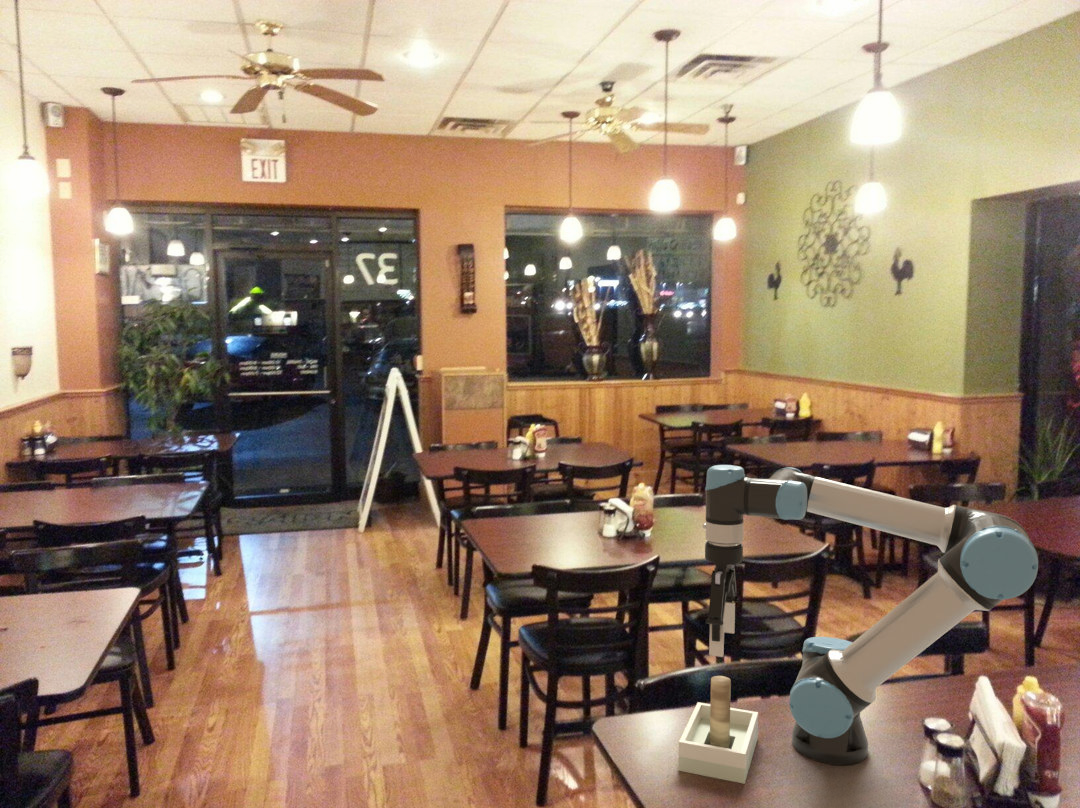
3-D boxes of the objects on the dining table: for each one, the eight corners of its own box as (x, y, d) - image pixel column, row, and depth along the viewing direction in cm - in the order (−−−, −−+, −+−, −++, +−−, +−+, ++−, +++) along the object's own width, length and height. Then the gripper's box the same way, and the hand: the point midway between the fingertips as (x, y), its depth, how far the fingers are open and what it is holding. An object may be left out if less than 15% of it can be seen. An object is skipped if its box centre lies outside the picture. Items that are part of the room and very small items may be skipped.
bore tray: (757, 739, 178) (758, 712, 177) (744, 783, 160) (745, 754, 160) (697, 728, 183) (697, 702, 182) (678, 770, 165) (678, 741, 165)
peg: (711, 748, 174) (712, 674, 173) (730, 751, 173) (732, 677, 171) (707, 757, 170) (709, 682, 169) (727, 760, 169) (729, 685, 168)
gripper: (716, 526, 180) (714, 621, 182) (693, 555, 157) (691, 663, 159) (751, 529, 178) (749, 625, 179) (732, 559, 155) (731, 669, 156)
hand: (722, 643), depth 169 cm, fingers open, 13 cm apart
